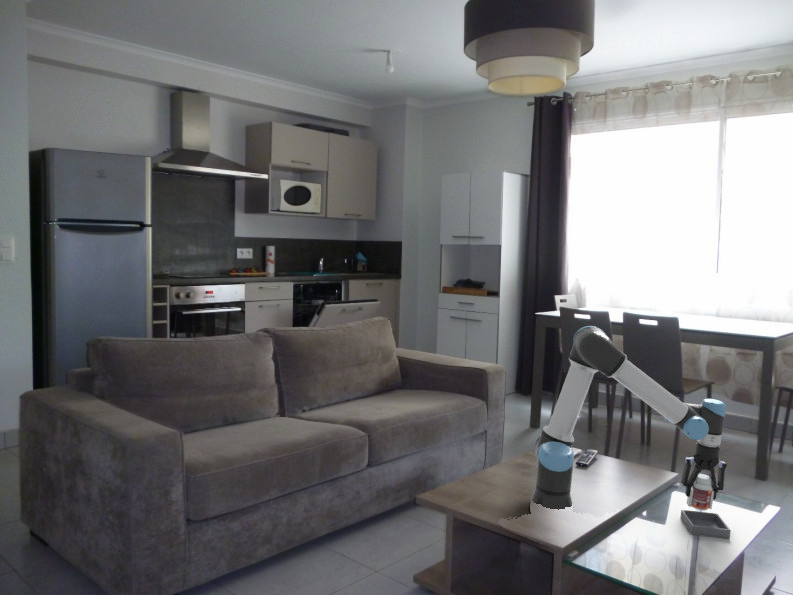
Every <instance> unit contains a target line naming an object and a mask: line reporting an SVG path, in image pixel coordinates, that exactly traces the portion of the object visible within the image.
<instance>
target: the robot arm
mask: <svg viewBox="0 0 793 595" xmlns="http://www.w3.org/2000/svg"><path fill="white" fill-rule="evenodd" d="M570 350H571V351H570V352H569V356H568V360H569V363H570V366H569V368H568V372H567V375H566V377H565V380H564V382H563V385H562V387H561V388H562V389H561V391H560V393H559V396H558V399H557V401H556V404H555V407H554V410H553V413H552V414H551V415H552V416H551V418H550V421H549V424H548V425H544V426H543V427H542V430H541V433H540V435H539V436H538V437H537V438H536V439H535V443H534V455H535V459H536V461H535V462H536V466H537V467H536V468H537V470H536V480H535V488H534V492H533V493H532V495H531V498H530V500H531V499H532V501H533V502H534V503H536V504H541V505H542V506H543V507H546V508H550V509H558V510H559V509H565V507H571V506H572V504H573V500H572V496H571V490H572V480H573V479H572V478H573V468H574V462H575V454H574V450H573V449H572V447H573V445H574V442H575V438H574V436H573V432H574V429H575V427H576V424H577V421H578V418H579V416H580V413H581V411H582V408H583V405H584V402H585V399H586V397H587V395H588V392H589V390H590V386H591V384H592V381H593V379H594V375H595V374H596V373H598V372H599V373H601V374H602V375H604V377H606V378H612V379H614V380H615V381H617V383H619V384H620V385H622V386H623V387H624V388H625V389H627V390H629V392H630V393H632V394H634V396H636V397H637V398H639V399H640V400H641V401H643V403H646V405H648V406H649V407H650V408H652V409H653V410H654V411H655V412H657V413H658V414H660V415H661V416H662V417H663V420H664V421H665V422H666V423H668V424H672V425H674V426H675V427H676V428H678V429H679V430H680V431H682V432H683V433H684V435H685V436H687V437H688V438H689V439H691V440H693V441H697V442H695V448H694V449H695V451H694V454H693V456H692V457H688V456H685V457H684V462H685V463H684V467H683V468H684V469H683V472H682V476H681V480H680V481H681V482H680V483H681V484H682V486H683V487H685V492H684V494H685V496H686V497H687V498H686V505H687V506H688V507H689V508H692V507H691V505H692V498H693V491H694V489H693V488H692V486H693V484H694V482H695V480H696V478H697V476H698V475H699V474H701V472H702V471H704V470H705V471H708V476H709V477H711V483H710V485H711V487H712V489H711V495H710V502H709V508H708V510H712V508H713V507H712V506H713V501H714V500H716V499H717V494H718V493H719V491H723V490H724V486H725V485H724V484H725V471H726V468H727V466H728V465H727V463H726V462H725V461H724V460H720V459H719V455H720V451H721V450H720V449H721V447H720V445H721V444H722V436H723V430H724V423H725V418H726V407H727V406H726V404H725V403H724V402H723V401H721V400H718V399H714V398H704V399H703V400H702V402H701V404H698V403H697V404H696V403H688V402H682V401H681V400H680V399H679V398H678V397H676V396H675V395H674V394H672V393H671V392H669V391H668V390H667V389H666V388H665V387H664V386H662V385H661V384H660V383H658V382H657V381H656V380H654V379H653V378H651V377H650V376H649V375H647V374H646V373H645V372H644V371H642V369H640V368H638V367H637V366H636V365H635V364H633V363H632V362H631V361H630V360H628V356H627V354H625V353H624V352H623V351H622V350H621V349H619V348H618V346H616V344H614V342H613V341H612V339H611V338H610V337H609V336H608V335H607V333H606V332H605V331H604V330H603V329H601V328H599V327H597V326H594V325H587V326H583V327H581V328H580V329H578V330H577V331H576V332H575V333H574V335H573V339H572V347H571V349H570ZM693 462H694V463H695V465H694V466H693V470H692V471H691V467H692V464H693ZM716 466H718V470H717V471H718V472H717V478H716V474H715V468H716ZM690 472H691V474H690Z"/></svg>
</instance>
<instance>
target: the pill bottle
mask: <svg viewBox="0 0 793 595" xmlns="http://www.w3.org/2000/svg"><path fill="white" fill-rule="evenodd" d="M692 488H693V489H694V491H693V498H692V505H691V507H690V508H693V509H696V510H697V511H698V510H699V511H708V510H709V502H710V495H711V489H712V486H711V477H710V476H709V475H707V474H703V473H699V475H698V476H697V478H696V480H695V482H694V484H693V486H692Z"/></svg>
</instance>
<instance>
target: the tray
mask: <svg viewBox="0 0 793 595" xmlns="http://www.w3.org/2000/svg"><path fill="white" fill-rule="evenodd" d="M679 518H680V519H681V521H682V523H683V524H684V526H685V527H686V529H687V530H688V532H689V533H690V535H693V536H700V537H701V536H702V537H709V538H710V537H711V538H718V539H728V540H729V539H730V538H731V532H732V531H731V528H730V527H729V526H728V525H727V524H726V523H725V521H724V520H723V518H722V517H721V516H720V515H719V514H718V513H715V512H705V511H698V510H697V511H694V510H689V509H688V510H687V509H681V510H680V517H679Z"/></svg>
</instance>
